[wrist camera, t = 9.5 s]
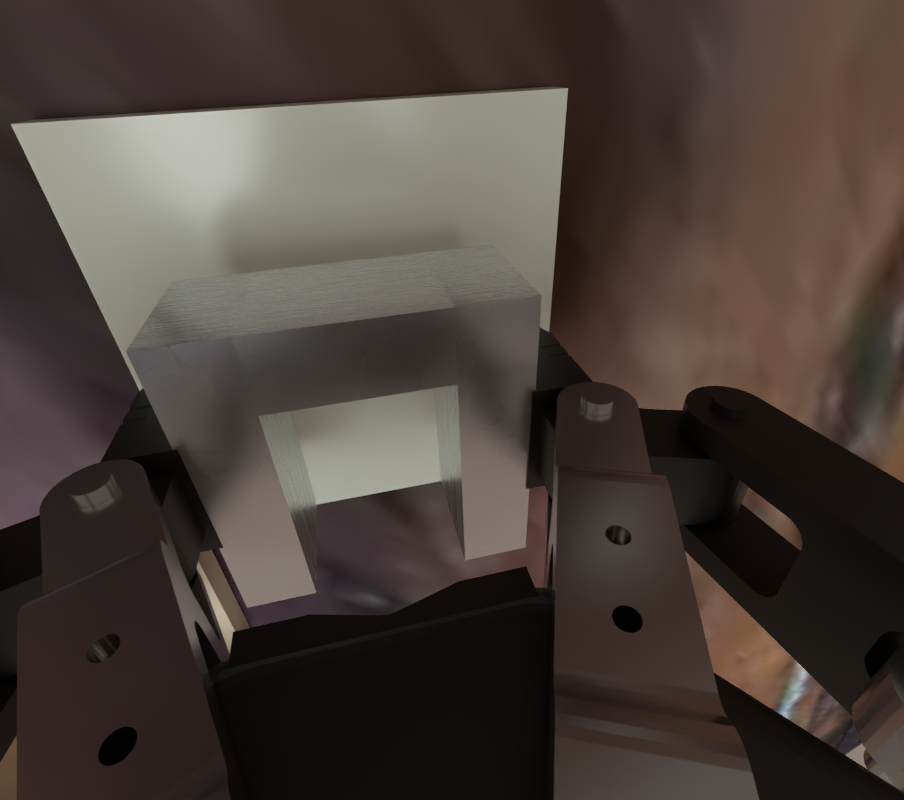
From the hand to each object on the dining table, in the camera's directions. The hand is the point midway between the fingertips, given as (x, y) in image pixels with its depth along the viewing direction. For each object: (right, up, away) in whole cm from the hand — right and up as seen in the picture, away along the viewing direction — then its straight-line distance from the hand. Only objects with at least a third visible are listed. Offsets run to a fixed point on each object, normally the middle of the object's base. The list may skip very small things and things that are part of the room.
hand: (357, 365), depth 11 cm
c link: (0, -1, -1) cm, 1 cm away
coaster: (0, +1, +1) cm, 2 cm away
